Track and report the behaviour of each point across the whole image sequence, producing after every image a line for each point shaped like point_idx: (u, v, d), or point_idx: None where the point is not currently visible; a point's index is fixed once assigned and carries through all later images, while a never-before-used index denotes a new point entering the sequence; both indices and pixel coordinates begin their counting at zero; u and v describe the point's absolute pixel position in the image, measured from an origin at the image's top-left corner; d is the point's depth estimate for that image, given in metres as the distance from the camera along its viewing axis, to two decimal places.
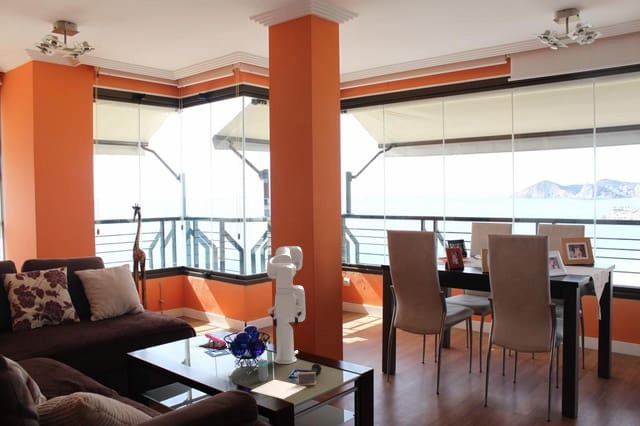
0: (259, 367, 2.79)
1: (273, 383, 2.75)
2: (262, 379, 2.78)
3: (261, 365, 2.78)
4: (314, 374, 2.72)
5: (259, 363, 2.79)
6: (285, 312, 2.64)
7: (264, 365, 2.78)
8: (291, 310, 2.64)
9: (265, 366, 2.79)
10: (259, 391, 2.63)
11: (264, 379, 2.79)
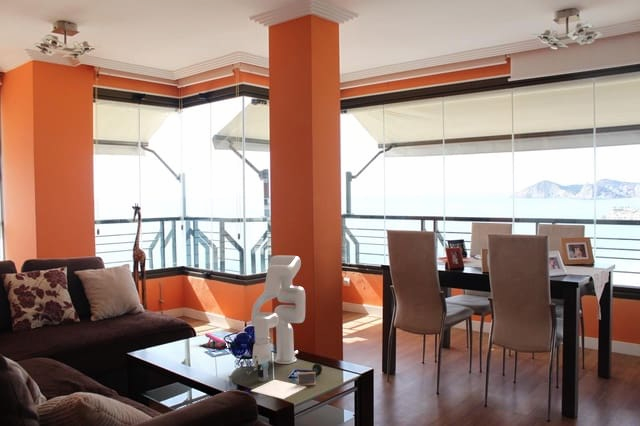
0: None
1: (273, 383, 2.75)
2: (262, 379, 2.78)
3: None
4: (314, 374, 2.72)
5: None
6: (265, 360, 2.78)
7: (264, 365, 2.78)
8: (269, 357, 2.81)
9: (265, 366, 2.79)
10: (259, 391, 2.63)
11: (264, 379, 2.78)
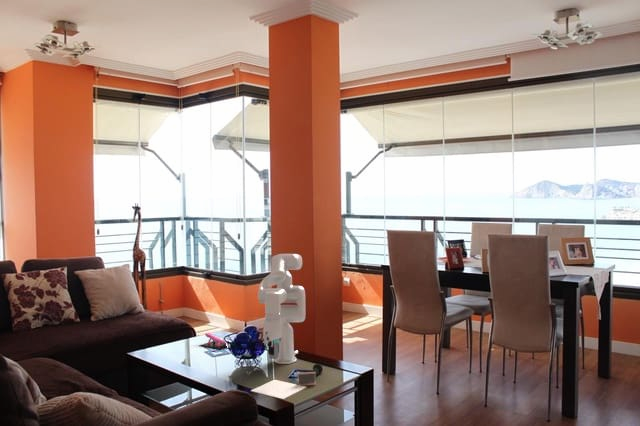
0: None
1: (273, 383, 2.75)
2: (273, 356, 2.69)
3: None
4: (314, 374, 2.72)
5: None
6: (276, 337, 2.69)
7: (275, 342, 2.70)
8: (280, 334, 2.72)
9: (276, 343, 2.70)
10: (259, 391, 2.63)
11: (275, 356, 2.70)
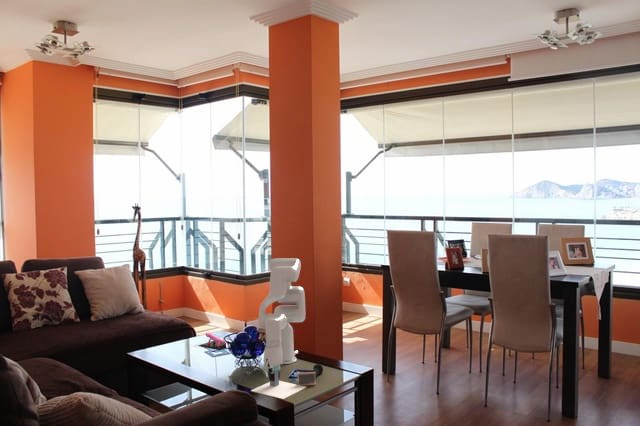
0: None
1: None
2: (273, 384, 2.70)
3: None
4: (314, 374, 2.72)
5: None
6: (276, 363, 2.70)
7: (275, 370, 2.70)
8: (280, 360, 2.72)
9: (276, 371, 2.71)
10: (259, 391, 2.63)
11: (275, 384, 2.70)
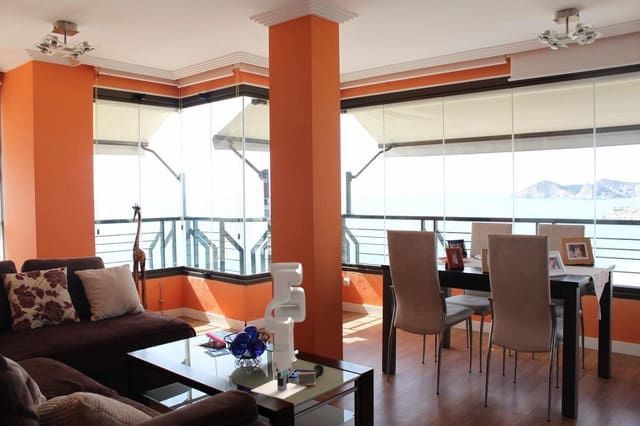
0: None
1: (273, 383, 2.75)
2: (281, 389, 2.63)
3: None
4: (314, 374, 2.72)
5: None
6: (285, 368, 2.63)
7: (284, 374, 2.63)
8: (289, 364, 2.65)
9: (285, 375, 2.63)
10: (259, 391, 2.63)
11: (283, 389, 2.63)
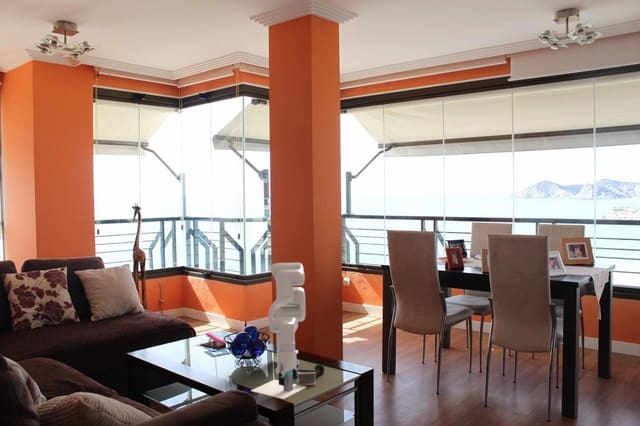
0: (284, 376, 2.63)
1: (273, 383, 2.75)
2: (287, 389, 2.62)
3: (286, 374, 2.62)
4: (314, 374, 2.72)
5: None
6: (290, 368, 2.63)
7: (289, 374, 2.63)
8: (294, 365, 2.65)
9: (290, 375, 2.63)
10: (259, 391, 2.63)
11: (289, 389, 2.63)
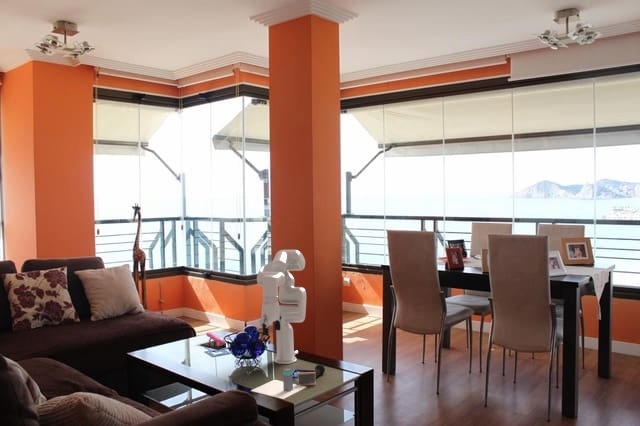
0: (284, 376, 2.63)
1: (273, 383, 2.75)
2: (287, 389, 2.62)
3: (286, 374, 2.62)
4: (314, 374, 2.72)
5: (284, 372, 2.63)
6: (273, 319, 2.77)
7: (289, 374, 2.63)
8: (277, 316, 2.80)
9: (290, 375, 2.63)
10: (259, 391, 2.63)
11: (289, 389, 2.63)
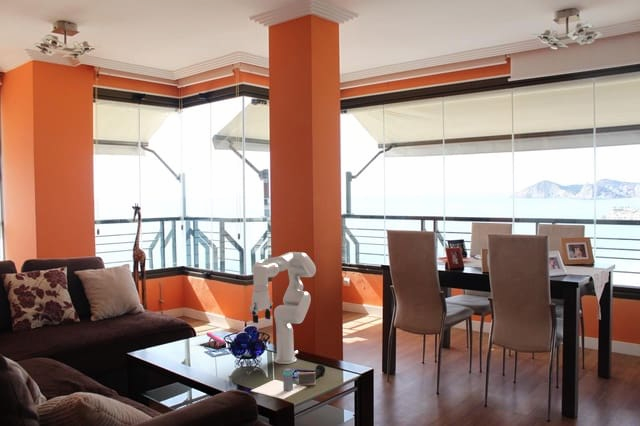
0: (284, 376, 2.63)
1: (273, 383, 2.75)
2: (287, 389, 2.62)
3: (286, 374, 2.62)
4: (314, 374, 2.72)
5: (284, 372, 2.63)
6: (263, 307, 2.86)
7: (289, 374, 2.63)
8: (267, 305, 2.89)
9: (290, 375, 2.63)
10: (259, 391, 2.63)
11: (289, 389, 2.63)
